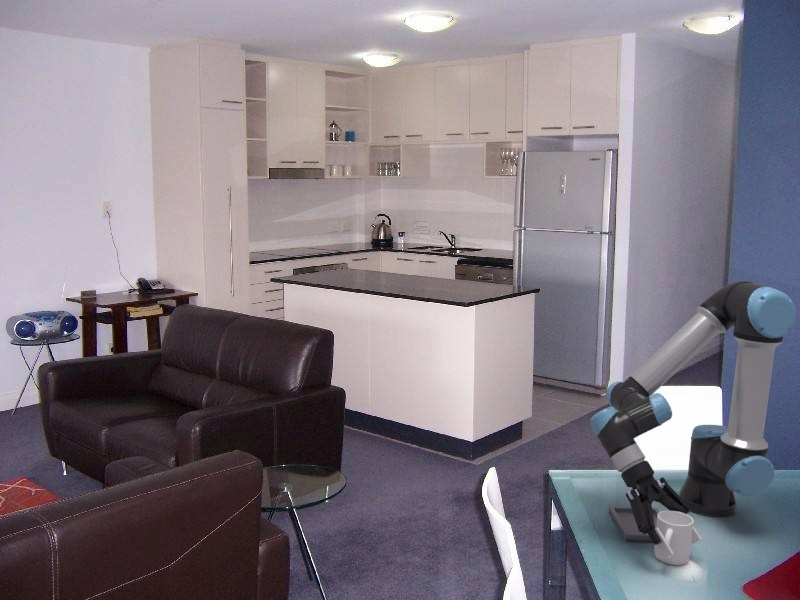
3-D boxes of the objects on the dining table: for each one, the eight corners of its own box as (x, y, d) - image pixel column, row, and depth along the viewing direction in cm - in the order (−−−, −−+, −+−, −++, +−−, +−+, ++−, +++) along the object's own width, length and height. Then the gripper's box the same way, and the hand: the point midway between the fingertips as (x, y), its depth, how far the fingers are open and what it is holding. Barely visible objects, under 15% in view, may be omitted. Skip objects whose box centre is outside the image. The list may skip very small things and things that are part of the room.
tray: (656, 514, 222) (656, 507, 221) (676, 544, 205) (677, 536, 205) (608, 513, 222) (609, 506, 221) (625, 542, 205) (625, 534, 205)
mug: (680, 576, 189) (684, 534, 187) (645, 565, 193) (648, 525, 191) (693, 555, 199) (697, 516, 197) (658, 546, 203) (662, 507, 201)
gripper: (650, 463, 212) (698, 540, 203) (593, 484, 197) (643, 569, 188) (670, 449, 207) (720, 528, 198) (613, 470, 192) (665, 557, 183)
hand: (683, 548), depth 193 cm, fingers closed on mug, 11 cm apart
